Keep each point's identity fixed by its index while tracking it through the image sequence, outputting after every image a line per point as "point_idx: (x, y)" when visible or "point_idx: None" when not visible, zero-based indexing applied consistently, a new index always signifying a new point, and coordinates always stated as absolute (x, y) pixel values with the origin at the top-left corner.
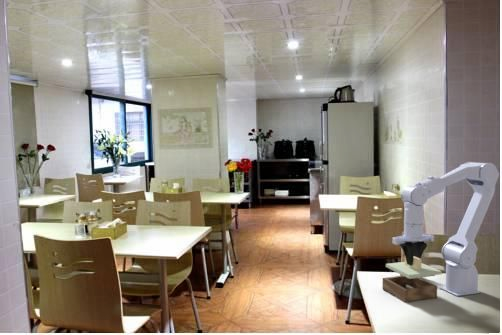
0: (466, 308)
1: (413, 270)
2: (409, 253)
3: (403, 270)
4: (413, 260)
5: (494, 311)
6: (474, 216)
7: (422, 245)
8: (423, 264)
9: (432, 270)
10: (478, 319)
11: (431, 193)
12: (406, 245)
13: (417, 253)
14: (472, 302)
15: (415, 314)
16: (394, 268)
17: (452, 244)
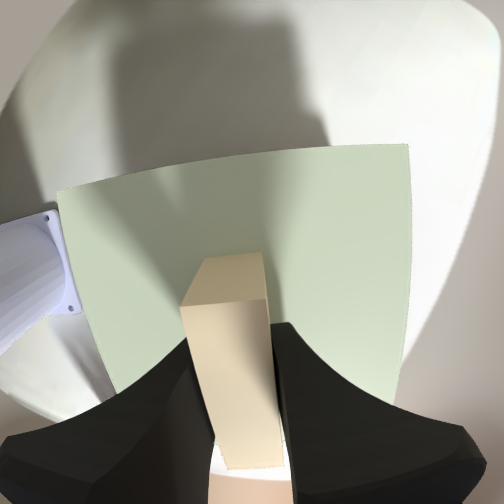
0: (95, 79)
1: (292, 256)
2: (361, 400)
3: (381, 273)
4: (271, 343)
5: (32, 60)
6: None
7: (73, 485)
8: (119, 374)
9: (111, 221)
10: None
11: None
12: (465, 497)
13: (184, 421)
14: (40, 142)
15: (360, 53)
16: (402, 340)
17: None
